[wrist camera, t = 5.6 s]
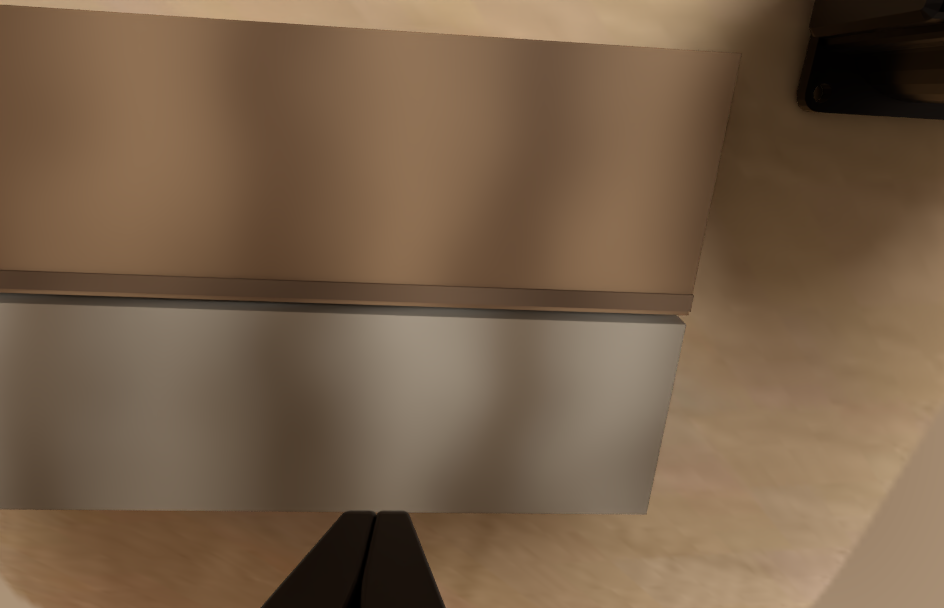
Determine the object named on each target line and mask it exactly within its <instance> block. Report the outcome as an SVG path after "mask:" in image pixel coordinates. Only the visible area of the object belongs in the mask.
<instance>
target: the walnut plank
mask: <svg viewBox="0 0 944 608" xmlns="http://www.w3.org/2000/svg"><path fill="white" fill-rule="evenodd" d="M740 59H741V54H740V53H725V52H710V51H695V50H680V49H665V48H649V47H634V46H619V45H604V44H589V43H574V42H559V41H543V40H528V39H513V38H498V37H483V36H468V35H452V34H437V33H422V32H407V31H392V30H377V29H362V28H346V27H331V26H316V25H301V24H286V23H271V22H255V21H240V20H225V19H210V18H195V17H180V16H164V15H149V14H134V13H119V12H104V11H89V10H74V9H58V8H43V7H28V6H13V5H0V293H29V294H59V295H90V296H120V297H150V298H181V299H211V300H241V301H272V302H302V303H332V304H362V305H393V306H423V307H453V308H484V309H514V310H544V311H574V312H605V313H635V314H665V315H688V313H689V312H691V307H692V302H693V297H694V295H693V289H694V284H695V279H696V274H697V269H698V264H699V259H700V255H701V250H702V245H703V240H704V235H705V230H706V225H707V220H708V215H709V211H710V206H711V201H712V196H713V191H714V186H715V181H716V176H717V172H718V167H719V162H720V157H721V152H722V147H723V142H724V137H725V132H726V128H727V123H728V118H729V113H730V108H731V103H732V98H733V93H734V88H735V84H736V79H737V74H738V69H739V64H740Z"/></svg>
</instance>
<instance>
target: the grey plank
mask: <svg viewBox="0 0 944 608" xmlns="http://www.w3.org/2000/svg"><path fill="white" fill-rule="evenodd" d="M685 328H686V324H685V323H684V322H683V321H682V320H681V319H680V318H679V317H678V316H677V315H665V314H635V313H605V312H574V311H544V310H514V309H484V308H453V307H423V306H393V305H362V304H332V303H302V302H272V301H241V300H211V299H181V298H150V297H120V296H90V295H59V294H29V293H0V509H35V510H157V511H279V512H346V511H349V510H372V511H374V512H380V511H382V510H403V511H406V512H407V513H523V514H645V515H646V514H647V509H648V504H649V499H650V494H651V490H652V485H653V480H654V475H655V471H656V466H657V461H658V456H659V452H660V447H661V442H662V437H663V433H664V428H665V423H666V418H667V414H668V409H669V404H670V399H671V394H672V390H673V385H674V380H675V375H676V371H677V366H678V361H679V356H680V352H681V347H682V342H683V337H684V333H685Z"/></svg>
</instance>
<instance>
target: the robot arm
mask: <svg viewBox="0 0 944 608" xmlns="http://www.w3.org/2000/svg"><path fill="white" fill-rule="evenodd" d="M809 28H810V31H811V36H810V40H809V45H808V49H807V53H806V57H805V61H804V65H803V69H802V73H801V78H800V82H799V86H798V90H797V99H796V100H797V102H798V105H799V107H800V108H801V109H803V110H805V111H808V112H821V113H838V114H855V115H872V116H889V117H906V118H923V119H940V120H944V0H815V3H814V8H813V12H812V16H811V20H810V24H809ZM819 85H820V86H821V88H822V95H821V97H820V99H819V100H818V101H815V99H814V91H815V89H816V88H817V87H818V86H819ZM261 608H446V607H445V605H444V602H443V600H442V597H441V595H440V592H439V590H438V587H437V584H436V582H435V579H434V577H433V574H432V572H431V569H430V567H429V564H428V562H427V559H426V556H425V554H424V551H423V549H422V546H421V544H420V541H419V539H418V536H417V533H416V531H415V528H414V526H413V523H412V521H411V518H410V516H409V514H408V513H407V512H406V511H403V510H382V511H380V512H378V514H377V515H376V513H375V512H374V511H372V510H349V511H346V512H344V513H343V514H342V515H341V516H340V517H339V519H338V520H337V521H336V522H335V523H334V524H333V525H332V527H331V528H330V529H329V530H328V531H327V532H326V533H325V535H324V536H323V537H322V538H321V539H320V540H319V541H318V543H317V544H316V545H315V546H314V547H313V548H312V549H311V551H310V552H309V553H308V554H307V555H306V556H305V557H304V559H303V560H302V561H301V562H300V563H299V564H298V565H297V567H296V568H295V569H294V570H293V571H292V572H291V573H290V575H289V576H288V577H287V578H286V579H285V580H284V581H283V583H282V584H281V585H280V586H279V587H278V588H277V589H276V591H275V592H274V593H273V594H272V595H271V596H270V597H269V599H268V600H267V601H266V602H265V603H264V604H263V606H262V607H261Z"/></svg>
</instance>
